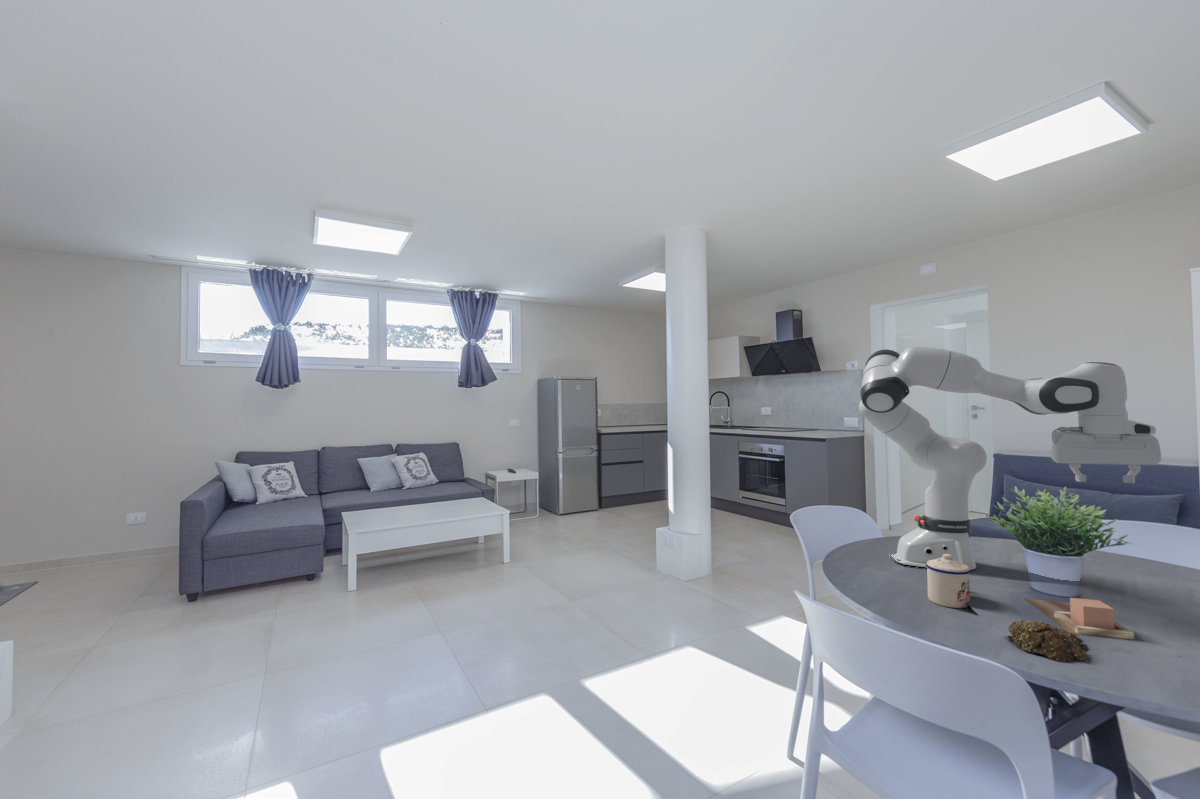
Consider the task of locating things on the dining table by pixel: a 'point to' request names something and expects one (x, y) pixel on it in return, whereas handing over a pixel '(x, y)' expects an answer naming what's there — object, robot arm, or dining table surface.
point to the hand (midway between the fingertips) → (1104, 482)
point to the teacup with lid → (948, 582)
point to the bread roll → (1047, 641)
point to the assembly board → (1062, 617)
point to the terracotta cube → (1091, 613)
